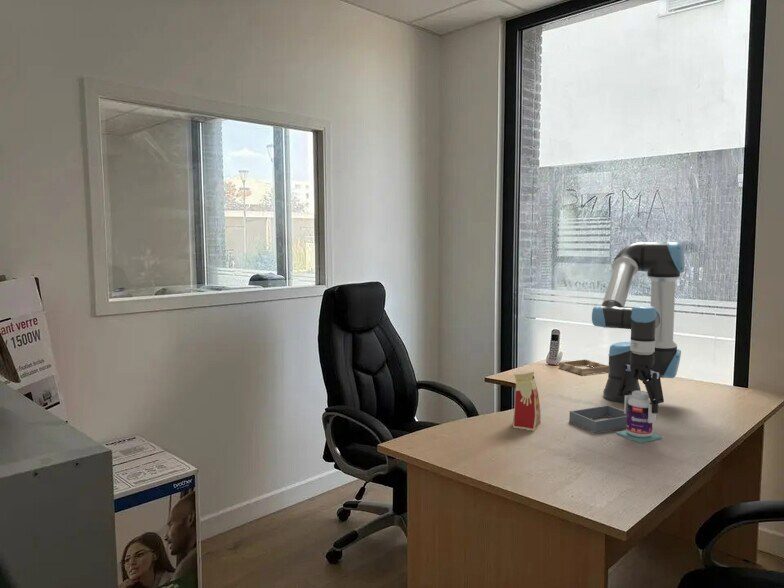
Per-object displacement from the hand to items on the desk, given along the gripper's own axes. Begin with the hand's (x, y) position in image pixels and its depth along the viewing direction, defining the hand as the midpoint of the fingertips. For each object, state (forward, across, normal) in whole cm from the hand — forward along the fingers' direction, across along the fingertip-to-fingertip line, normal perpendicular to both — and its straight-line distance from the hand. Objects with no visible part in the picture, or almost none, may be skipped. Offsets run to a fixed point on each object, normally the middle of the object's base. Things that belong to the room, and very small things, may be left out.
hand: (639, 417), depth 198 cm
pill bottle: (+6, 0, 0) cm, 6 cm away
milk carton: (+7, -25, -28) cm, 38 cm away
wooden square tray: (+6, -82, +50) cm, 96 cm away
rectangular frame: (+6, -15, -2) cm, 16 cm away
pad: (+6, 0, 0) cm, 6 cm away
